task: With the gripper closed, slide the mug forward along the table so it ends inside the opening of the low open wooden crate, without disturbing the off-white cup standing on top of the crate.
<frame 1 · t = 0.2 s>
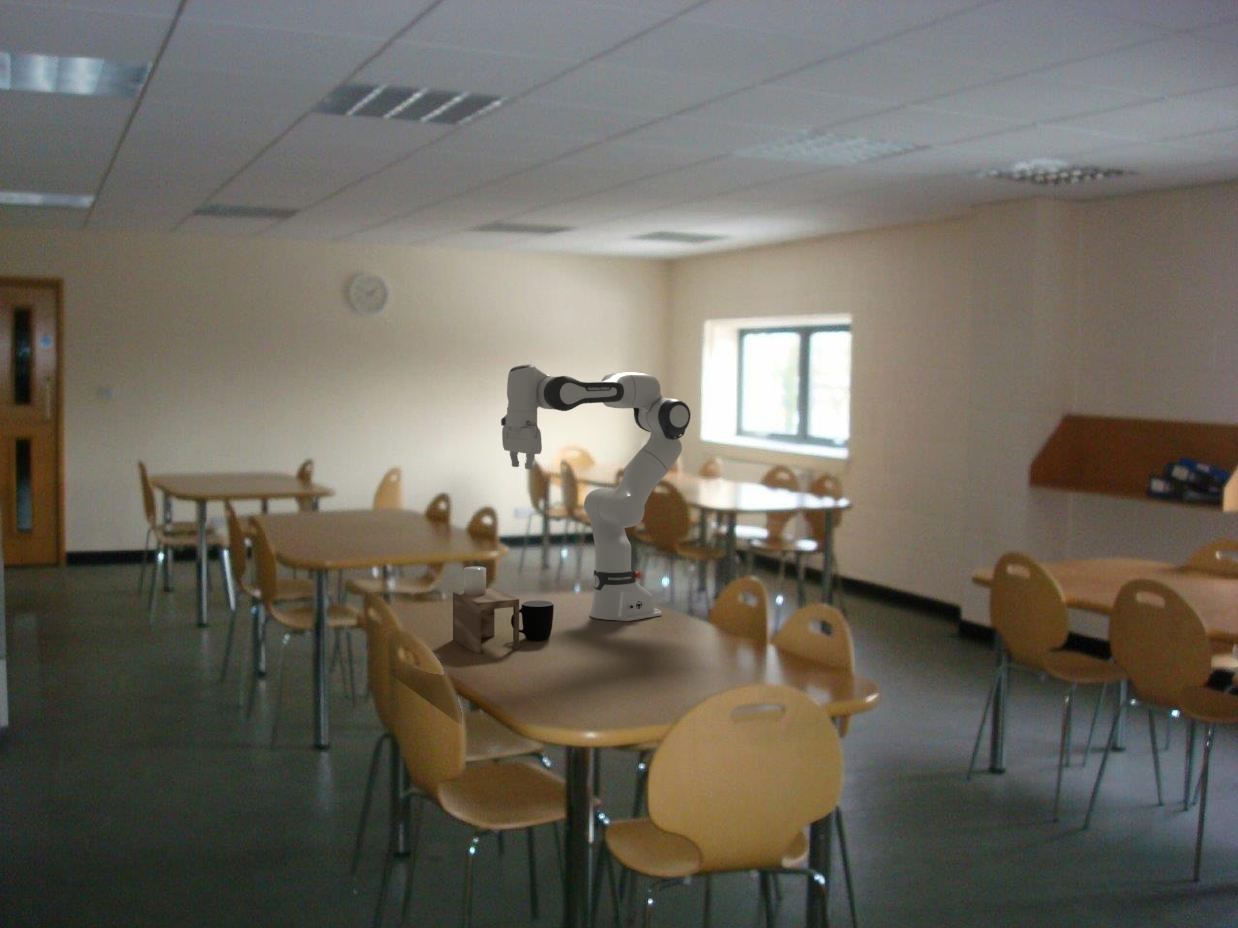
hand: (521, 468, 340), 47 cm above the table, fingers open, 8 cm apart
cup: (474, 593, 320), point 13 cm above the table, touching open wooden crate
open wooden crate: (485, 644, 318), on the table
mug: (532, 639, 325), on the table
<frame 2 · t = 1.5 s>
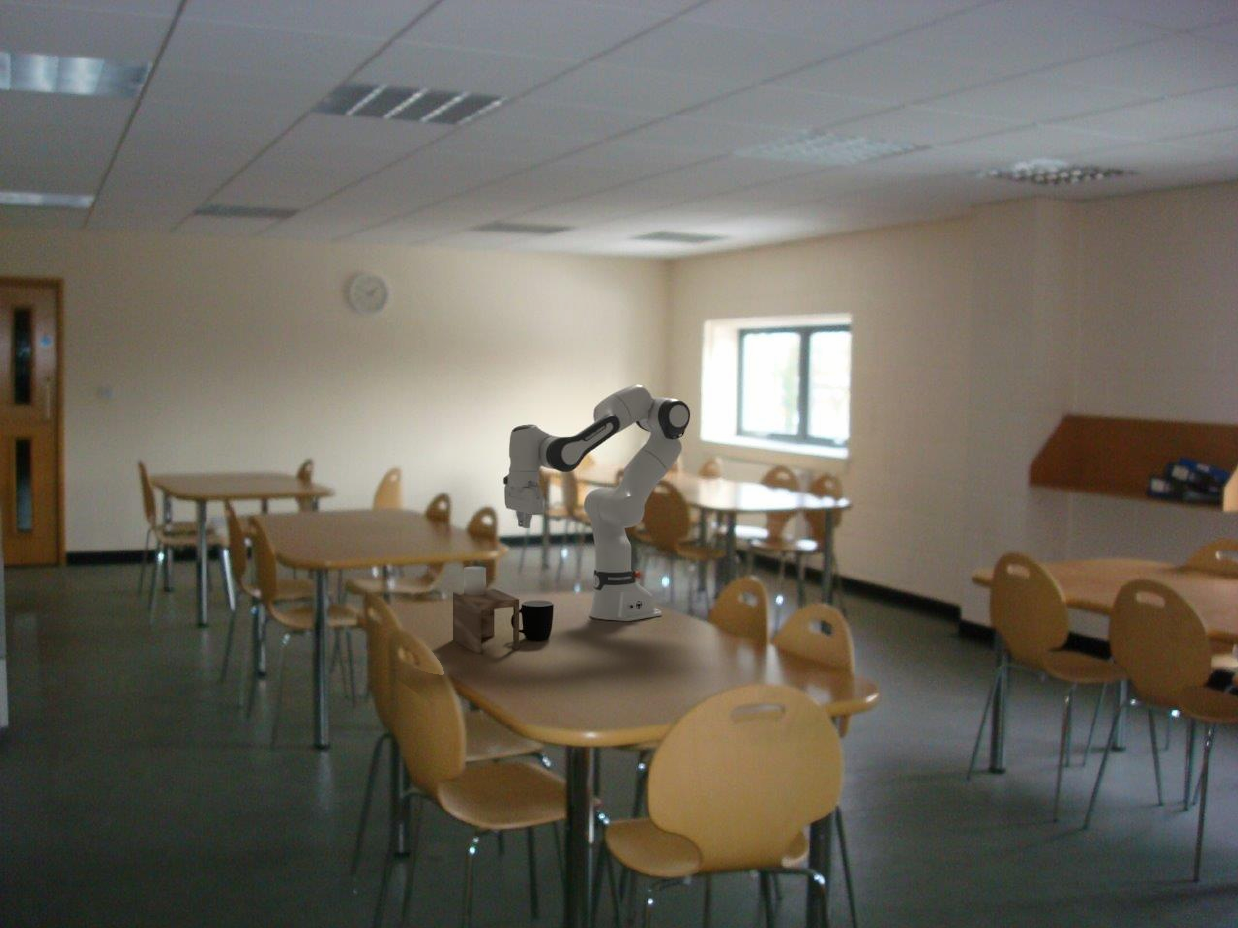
hand: (523, 527, 341), 29 cm above the table, fingers closed
nothing on the table moved.
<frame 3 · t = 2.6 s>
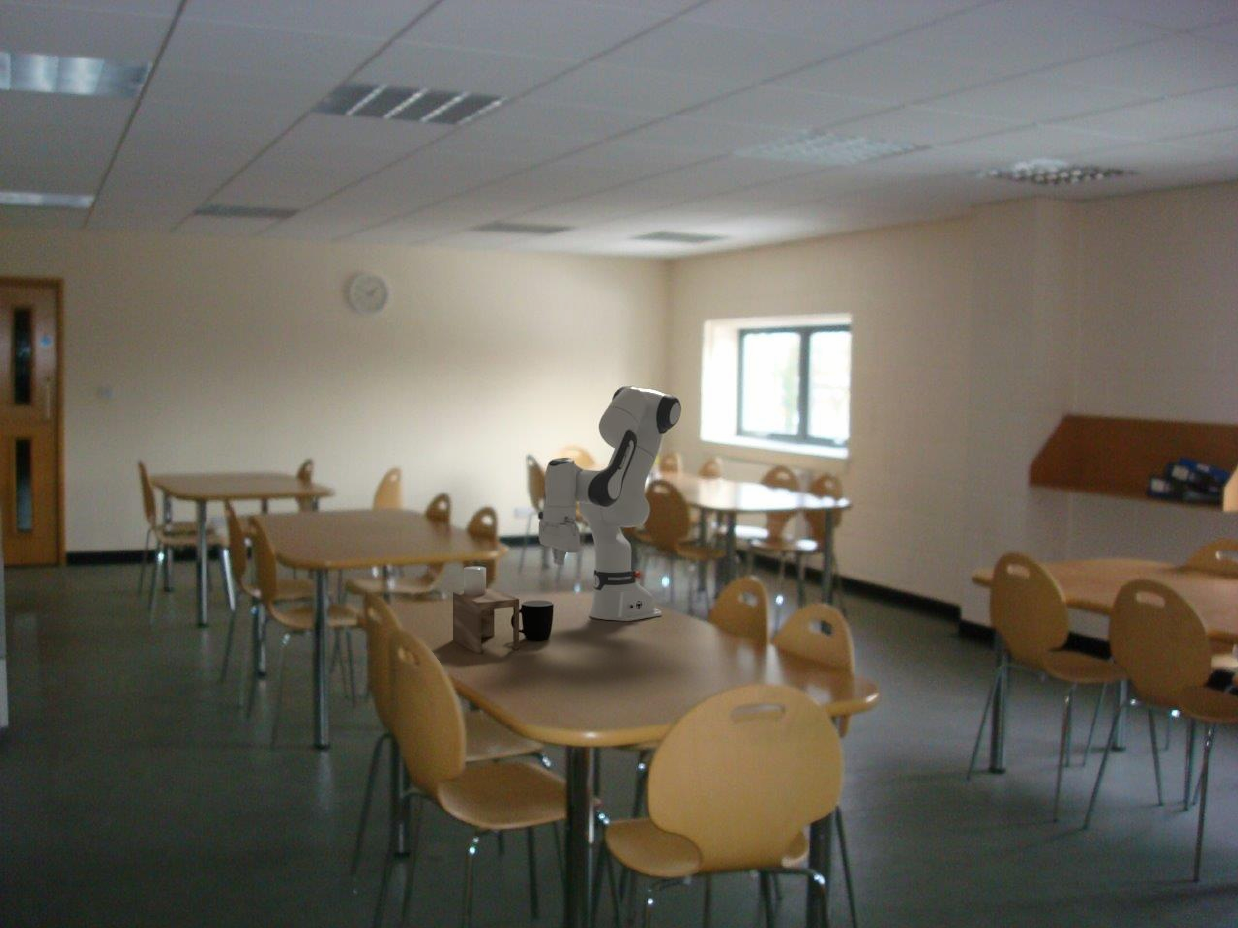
hand: (558, 564, 329), 20 cm above the table, fingers closed
nothing on the table moved.
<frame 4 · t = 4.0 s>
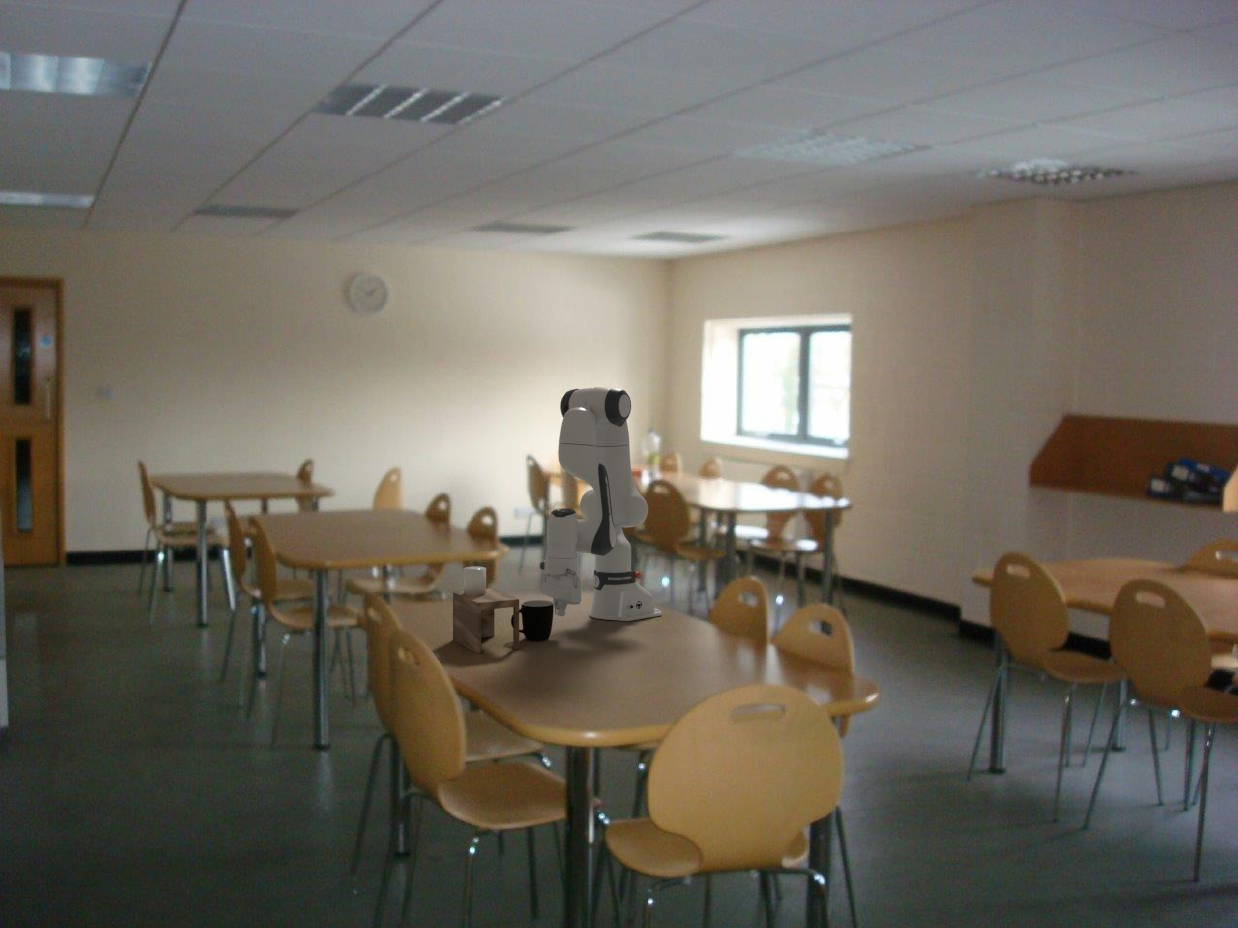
hand: (559, 615, 329), 6 cm above the table, fingers closed
nothing on the table moved.
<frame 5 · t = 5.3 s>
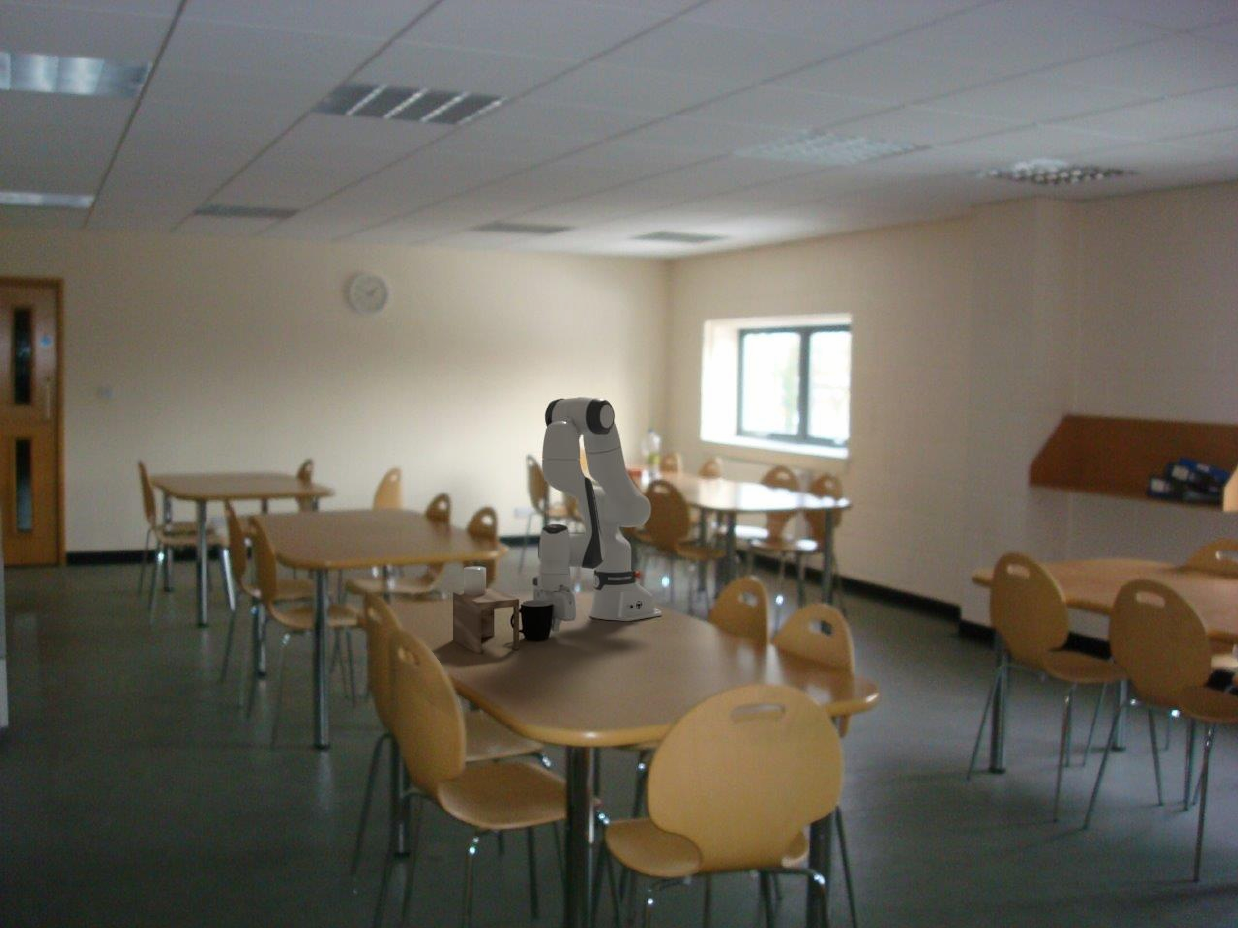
hand: (554, 631, 328), 2 cm above the table, fingers closed, pressing on mug
mug: (531, 639, 325), on the table, touching gripper
everything else where it was.
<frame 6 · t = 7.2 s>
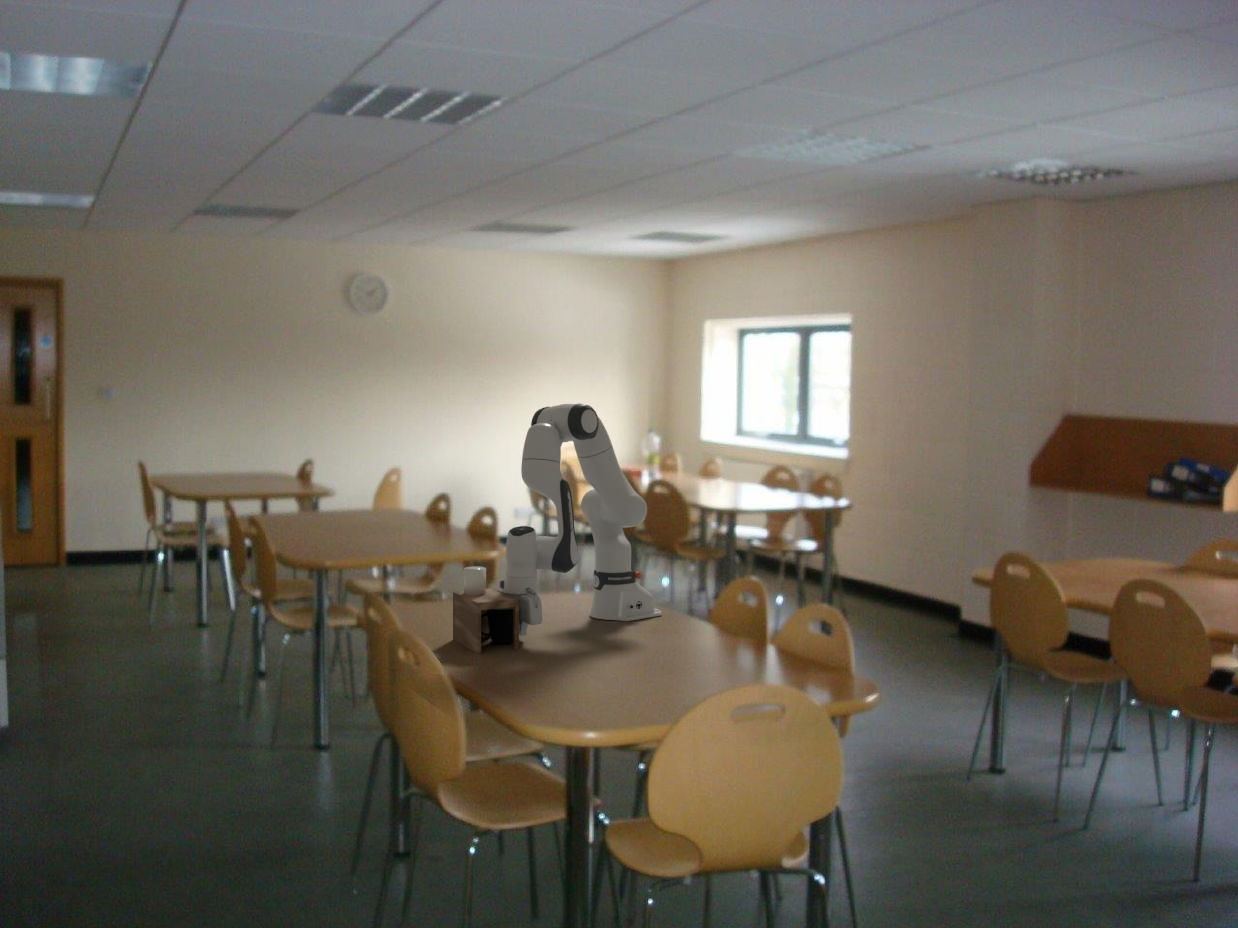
hand: (521, 634, 323), 2 cm above the table, fingers closed
mug: (499, 643, 320), on the table, touching gripper
everything else where it was.
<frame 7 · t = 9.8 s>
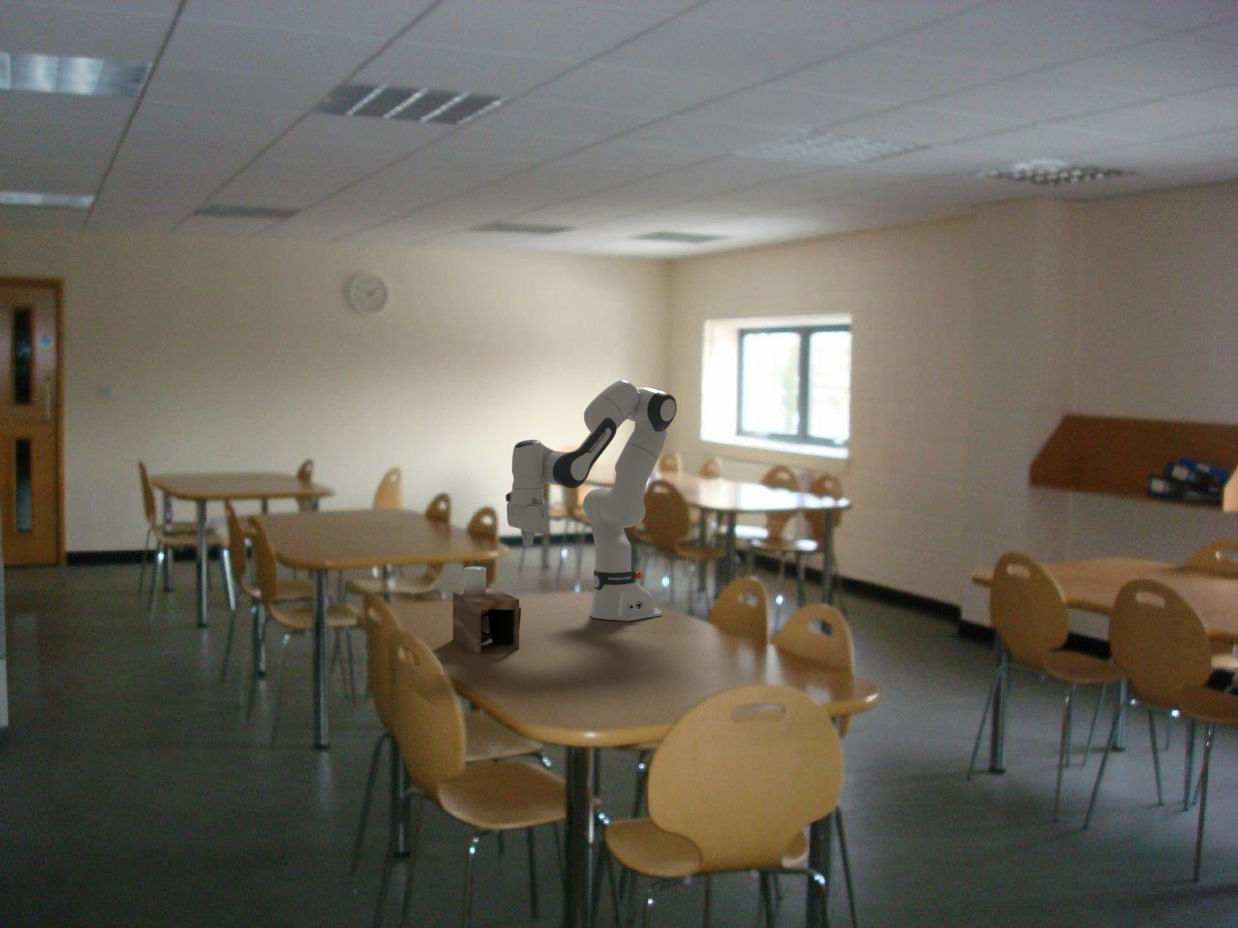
hand: (528, 545, 331), 25 cm above the table, fingers closed
mug: (499, 643, 320), on the table
everything else where it was.
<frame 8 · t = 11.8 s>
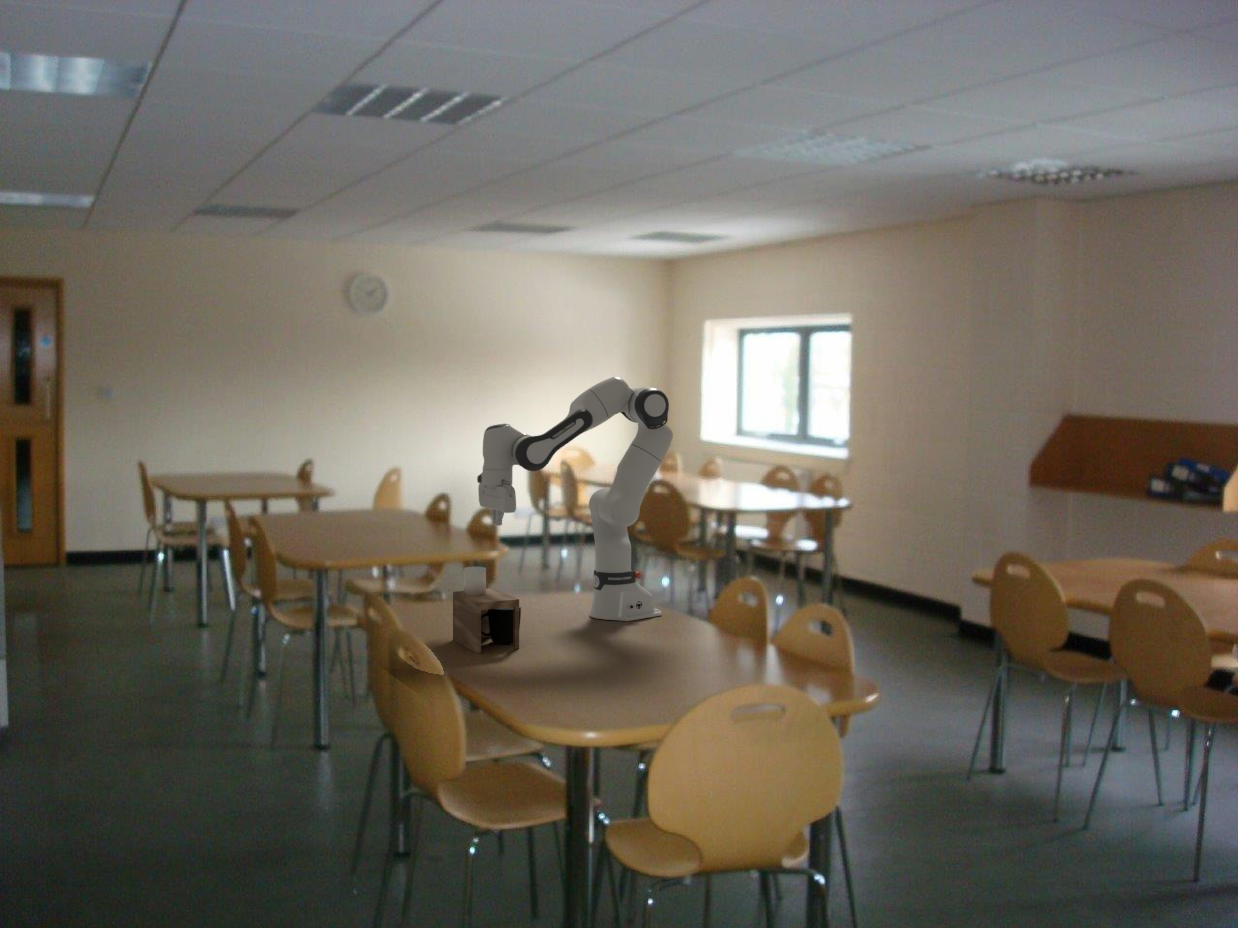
hand: (497, 524, 346), 29 cm above the table, fingers closed
nothing on the table moved.
at the end: mug inside the target area (2.5 cm from its centre), on the table; mug tilted 0°; cup moved 0.0 cm from its start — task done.
